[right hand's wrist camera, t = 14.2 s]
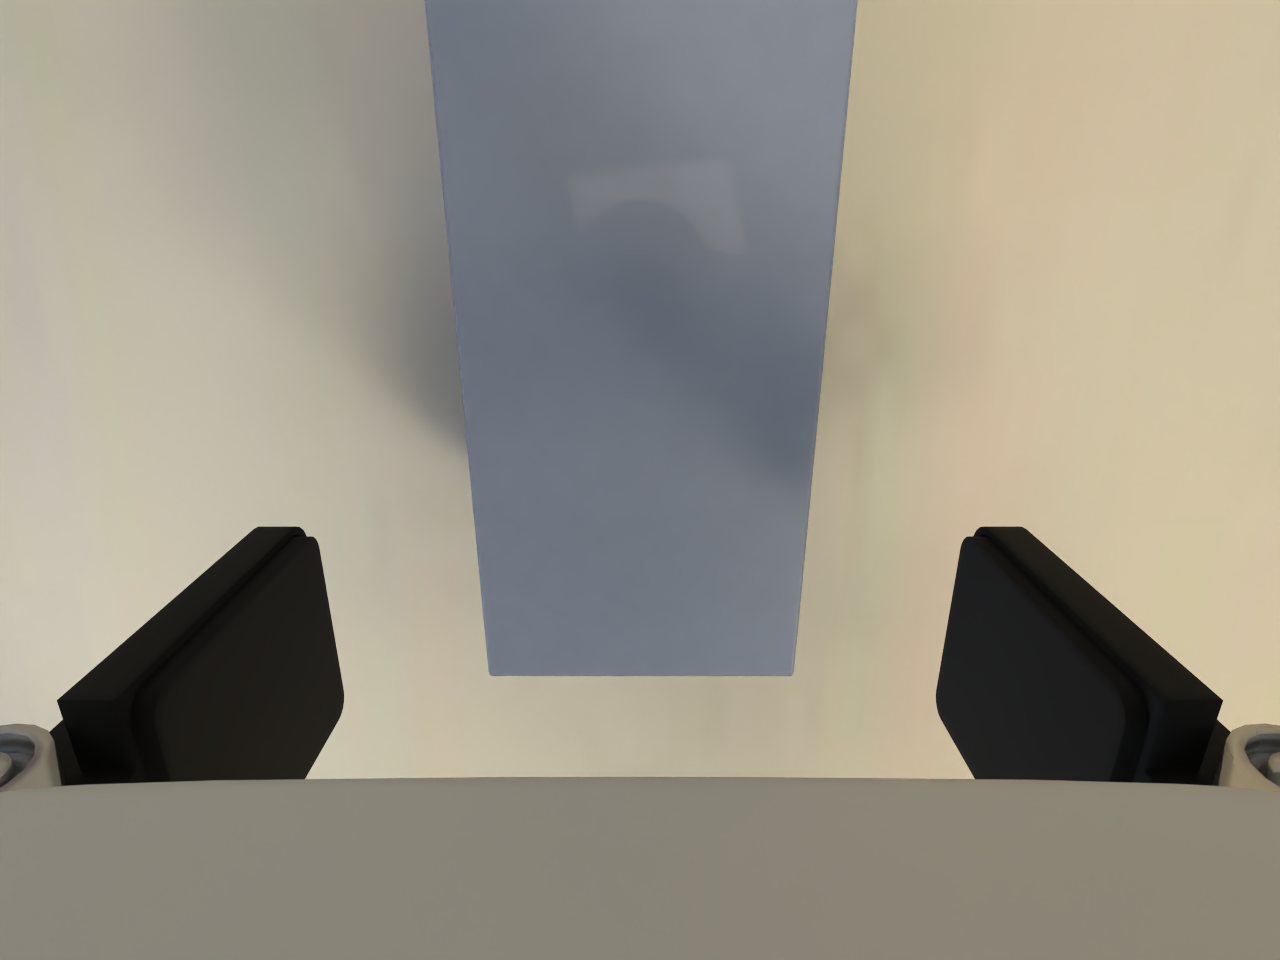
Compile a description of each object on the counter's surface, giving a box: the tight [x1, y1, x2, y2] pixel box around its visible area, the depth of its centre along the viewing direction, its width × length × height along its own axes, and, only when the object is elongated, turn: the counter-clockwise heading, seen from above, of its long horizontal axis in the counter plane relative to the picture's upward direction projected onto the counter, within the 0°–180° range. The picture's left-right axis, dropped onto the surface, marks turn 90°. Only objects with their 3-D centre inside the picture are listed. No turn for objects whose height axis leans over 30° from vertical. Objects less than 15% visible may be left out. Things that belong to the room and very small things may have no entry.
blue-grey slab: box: [425, 0, 858, 676], centre depth 17 cm, size 16×7×8 cm, turn 0°
